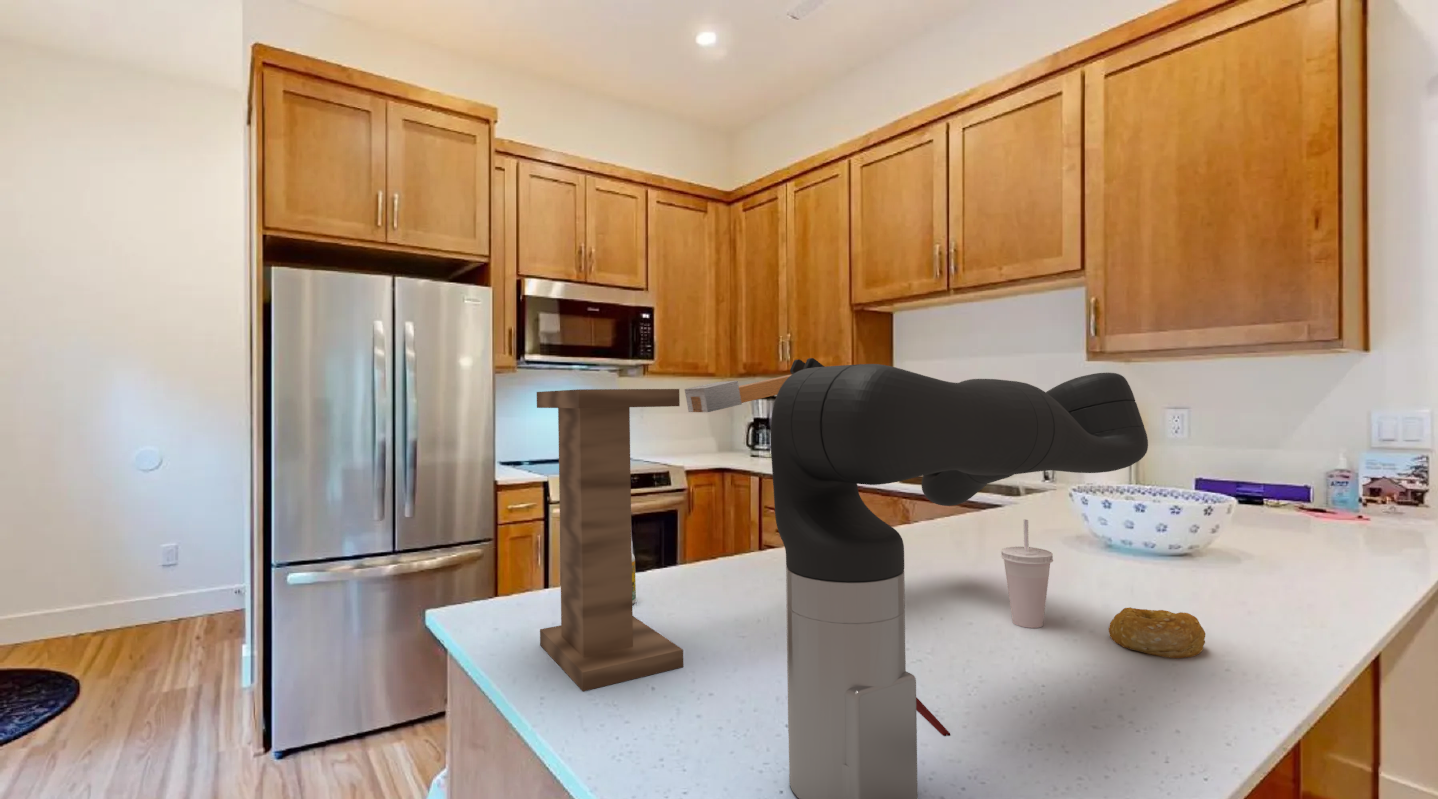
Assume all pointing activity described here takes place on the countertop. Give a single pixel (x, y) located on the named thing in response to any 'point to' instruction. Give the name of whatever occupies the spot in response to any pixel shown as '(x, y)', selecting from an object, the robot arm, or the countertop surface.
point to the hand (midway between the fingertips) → (800, 364)
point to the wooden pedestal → (600, 541)
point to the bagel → (1158, 632)
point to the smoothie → (1027, 581)
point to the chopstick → (930, 718)
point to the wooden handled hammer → (730, 394)
